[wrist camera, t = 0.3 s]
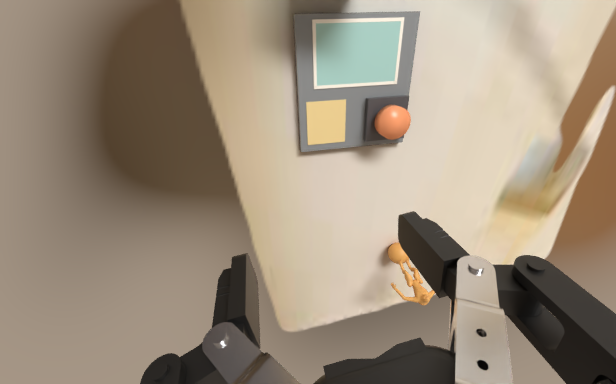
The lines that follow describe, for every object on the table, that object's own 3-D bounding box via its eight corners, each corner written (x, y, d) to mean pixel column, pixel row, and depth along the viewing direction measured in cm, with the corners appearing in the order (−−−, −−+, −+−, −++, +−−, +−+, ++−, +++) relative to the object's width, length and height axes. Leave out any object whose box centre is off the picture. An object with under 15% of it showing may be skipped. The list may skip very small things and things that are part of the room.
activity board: (293, 15, 32) (295, 13, 30) (415, 12, 35) (424, 10, 33) (300, 149, 40) (302, 154, 39) (399, 140, 43) (405, 144, 41)
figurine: (413, 233, 53) (454, 278, 42) (413, 255, 56) (450, 303, 45) (373, 244, 52) (404, 293, 42) (375, 266, 55) (404, 317, 45)
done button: (375, 105, 36) (381, 108, 35) (405, 103, 37) (412, 105, 36) (373, 137, 39) (378, 140, 37) (401, 134, 39) (408, 138, 38)
